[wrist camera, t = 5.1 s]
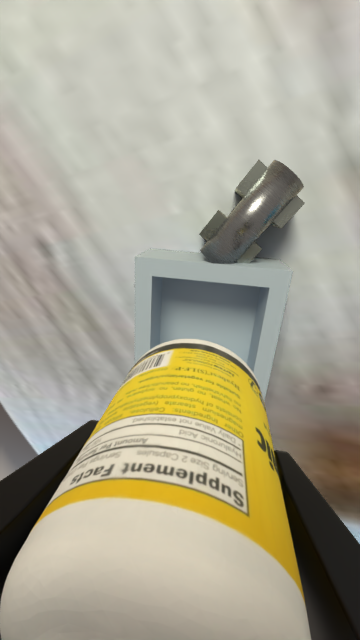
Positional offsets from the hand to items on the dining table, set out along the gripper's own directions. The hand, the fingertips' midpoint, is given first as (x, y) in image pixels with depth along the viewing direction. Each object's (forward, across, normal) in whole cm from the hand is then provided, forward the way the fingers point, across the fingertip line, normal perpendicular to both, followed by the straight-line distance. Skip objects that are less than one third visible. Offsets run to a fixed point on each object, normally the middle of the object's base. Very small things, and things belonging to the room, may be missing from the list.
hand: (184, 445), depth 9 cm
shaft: (+12, -2, -7) cm, 14 cm away
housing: (+12, 0, 0) cm, 12 cm away
